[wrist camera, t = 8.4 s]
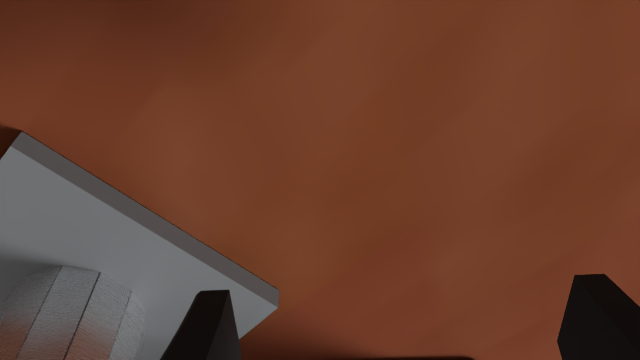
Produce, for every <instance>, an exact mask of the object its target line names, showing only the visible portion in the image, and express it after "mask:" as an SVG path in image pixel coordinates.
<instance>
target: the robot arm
mask: <svg viewBox="0 0 640 360" xmlns="http://www.w3.org/2000/svg"><path fill="white" fill-rule="evenodd" d="M557 342H558V346H559V350H560V353H561V357H562V360H640V307H639V306H638V305H637V304H636V303H635V302H634V301H633V300H632V299H631V298H630V297H628V296H627V295H626V294H625V293H624V292H623V291H622V290H621V289H620V288H619V287H618V286H617V285H616V284H615V283H614V282H613V281H612V280H610V279H609V278H608V277H607V276H606V275H605V274H590V275H575V276H574V279H573V283H572V287H571V291H570V294H569V298H568V302H567V306H566V310H565V313H564V317H563V321H562V325H561V328H560V332H559V336H558V340H557ZM160 360H241V348H240V343H239V338H238V333H237V327H236V322H235V317H234V311H233V306H232V301H231V296H230V290H206V291H200V292H199V293H198V294H197V295H196V296H195V298H194V300H193V302H192V304H191V306H190V308H189V310H188V312H187V314H186V316H185V317H184V319H183V321H182V323H181V325H180V326H179V328H178V330H177V332H176V333H175V335H174V337H173V339H172V340H171V342H170V344H169V345H168V347H167V349H166V350H165V352H164V353H163V355H162V357H161V358H160Z"/></svg>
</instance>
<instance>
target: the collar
mask: <svg viewBox="0 0 640 360" xmlns="http://www.w3.org/2000/svg"><path fill="white" fill-rule="evenodd" d="M146 323H147V313H146V311H145V310H144V308H143V307H142V305H141V304H140V302H139V300H138V299H137V297H136V296H135V294H134V293H133V291H131V289H129V288H127V287H125V286H124V285H122V284H120V283H119V282H117V281H115V280H114V279H112V278H110V277H108V276H107V275H105V274H103V273H102V272H101V273H100V272H99V271H93V270H87V269H81V268H75V267H70V266H64V265H63V266H61V265H60V266H56V267H52V268H47V269H43V270H38V271H34V272H30V273H28V274H27V275H26V276H25V277H24V278H23V279H22V280H21V281H20V282H19V283H18V284H17V285H16V286H15V287H14V288H13V289H12V290H11V291H10V293H9V295H8V296H7V298H6V300H5V302H4V303H3V305H2V307H1V309H0V360H138V358H139V354H140V351H141V348H142V344H143V341H144V337H145V330H146Z"/></svg>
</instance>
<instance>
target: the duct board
mask: <svg viewBox="0 0 640 360" xmlns="http://www.w3.org/2000/svg"><path fill="white" fill-rule="evenodd" d="M60 265H61V266H63V265H64V266H70V267H75V268H81V269H87V270H93V271H99V272H100V273H101V272H102V273H103V274H105V275H107V276H108V277H110V278H112V279H114V280H115V281H117V282H119V283H120V284H122V285H124V286H125V287H127V288H129V289H131V291H133V293H134V294H135V296H136V297H137V299H138V300H139V302H140V304H141V305H142V307H143V308H144V310H145V311H146V313H147V323H146V330H145V337H144V341H143V344H142V348H141V351H140V354H139V358H138V360H160V358H161V357H162V355H163V353H164V352H165V350H166V349H167V347H168V345H169V344H170V342H171V340H172V339H173V337H174V335H175V333H176V332H177V330H178V328H179V326H180V325H181V323H182V321H183V319H184V317H185V316H186V314H187V312H188V310H189V308H190V306H191V304H192V302H193V300H194V298H195V296H196V295H197V294H198V293H199V292H200V291H206V290H230V296H231V301H232V306H233V311H234V317H235V322H236V327H237V333H238V338H239V339H240V338H241V337H243V336H244V335H245V334H246V333H248V332H249V331H250V330H251V329H252V328H254V327H255V326H256V325H257V324H259V323H260V322H261V321H262V320H264V319H265V318H266V317H267V316H268V315H270V314H271V313H272V312H273V311H275V310H276V309H277V308H278V302H279V290H278V289H276V288H274V287H273V286H271V285H269V284H268V283H266V282H265V281H263V280H261V279H260V278H258V277H257V276H255V275H253V274H252V273H250V272H248V271H247V270H245V269H244V268H242V267H240V266H239V265H237V264H236V263H234V262H232V261H231V260H229V259H227V258H226V257H224V256H223V255H221V254H219V253H218V252H216V251H215V250H213V249H211V248H210V247H208V246H206V245H205V244H203V243H202V242H200V241H198V240H197V239H195V238H194V237H192V236H190V235H189V234H187V233H185V232H184V231H182V230H181V229H179V228H177V227H176V226H174V225H173V224H171V223H169V222H168V221H166V220H164V219H163V218H161V217H160V216H158V215H156V214H155V213H153V212H152V211H150V210H148V209H147V208H145V207H143V206H142V205H140V204H139V203H137V202H135V201H134V200H132V199H131V198H129V197H127V196H126V195H124V194H122V193H121V192H119V191H118V190H116V189H114V188H113V187H111V186H110V185H108V184H106V183H105V182H103V181H101V180H100V179H98V178H97V177H95V176H93V175H92V174H90V173H89V172H87V171H85V170H84V169H82V168H80V167H79V166H77V165H76V164H74V163H72V162H71V161H69V160H68V159H66V158H64V157H63V156H61V155H59V154H58V153H56V152H55V151H53V150H51V149H50V148H48V147H47V146H45V145H43V144H42V143H40V142H38V141H37V140H35V139H34V138H32V137H30V136H29V135H27V134H26V133H24V132H21V133H20V134H19V136H18V137H17V138H16V139H15V141H14V142H13V143H12V145H11V146H10V147H9V149H8V150H7V151H6V153H5V154H4V156H3V157H2V158H1V160H0V309H1V307H2V305H3V303H4V302H5V300H6V298H7V296H8V295H9V293H10V291H11V290H12V289H13V288H14V287H15V286H16V285H17V284H18V283H19V282H20V281H21V280H22V279H23V278H24V277H25V276H26V275H27V274H28V273H30V272H34V271H38V270H43V269H47V268H52V267H56V266H60Z"/></svg>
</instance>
